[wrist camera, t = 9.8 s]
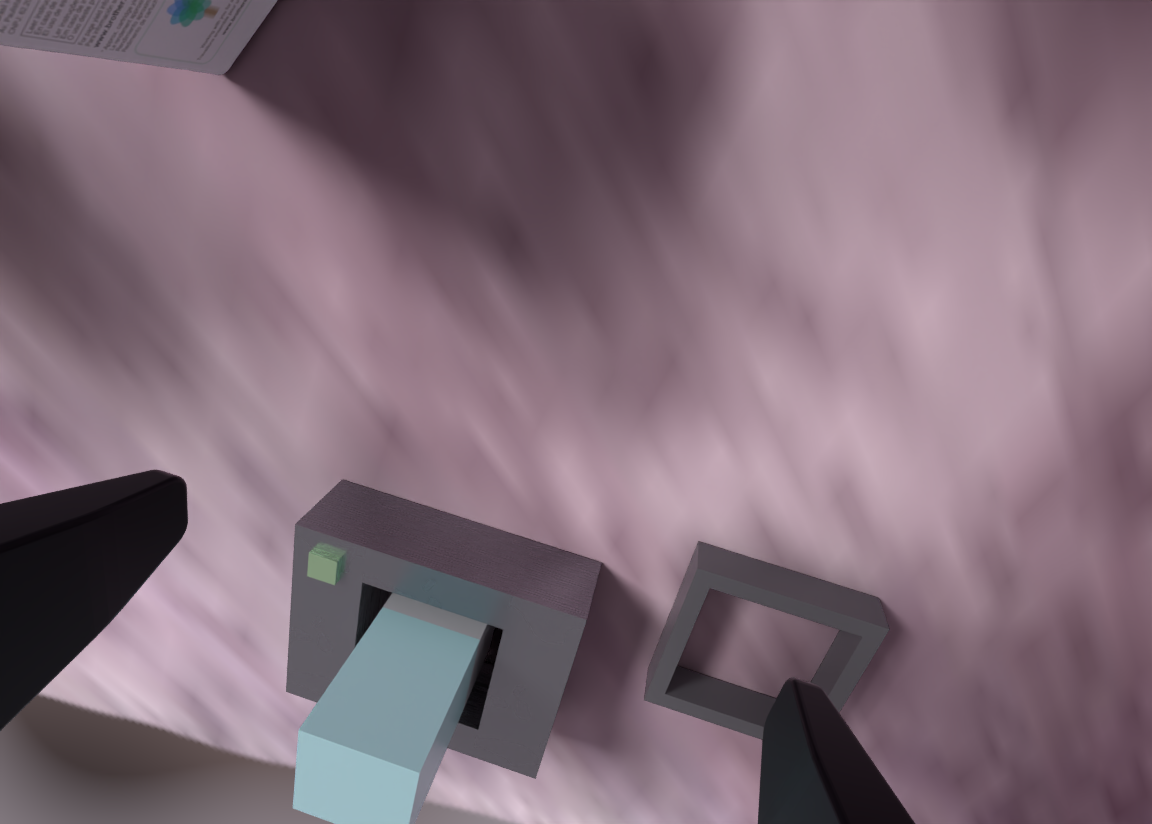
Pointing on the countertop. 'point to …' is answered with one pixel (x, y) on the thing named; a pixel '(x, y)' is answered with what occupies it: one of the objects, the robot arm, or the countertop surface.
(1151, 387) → the countertop surface
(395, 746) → the plug
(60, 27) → the ink cartridge box
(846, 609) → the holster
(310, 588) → the socket
